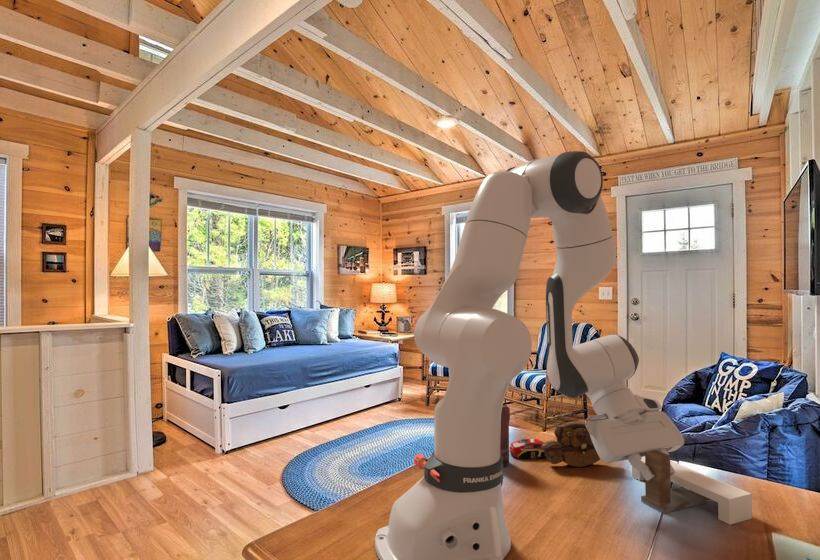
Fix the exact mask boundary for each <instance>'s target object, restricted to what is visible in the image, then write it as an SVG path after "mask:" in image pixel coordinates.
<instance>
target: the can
mask: <svg viewBox="0 0 820 560" xmlns="http://www.w3.org/2000/svg"><path fill="white" fill-rule="evenodd" d="M510 419H511V411H510V407H509V406H508V404H507V403H503V406H502V412H501V435H500V454H501V455H502V457H503V468H505V467H507V466H508V465H509V463H510Z"/></svg>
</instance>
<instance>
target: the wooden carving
mask: <svg viewBox="0 0 820 560" xmlns="http://www.w3.org/2000/svg"><path fill="white" fill-rule="evenodd" d="M553 433H554V436H555V437H556V440H550V441H546V442H544V443H545V444H543V445H542V447H541V448H542V450H544V453H545V455H546V458H545V459H546V461H547V463H549V464H552V465H558V464H560V463H563V464H564V463H565V464H567V465H568V466H572V467H576V468H577V467H581V468H582V467H587V466H590V465H591V466H592V465H593V464H596V463H597V462H599V461H600V460H601V459H600V457H599V455H598V454H597V451H596V449H595V447H594V445H593V442H592V440H591V437H590V433H589V432H588V430H587V428H586V426H585V422H584V423H583V422H580V421H568V422H565V423H564V424H562V425H559V424H557V425H556V426H555V428H554V432H553Z"/></svg>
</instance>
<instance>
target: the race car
mask: <svg viewBox="0 0 820 560" xmlns="http://www.w3.org/2000/svg"><path fill="white" fill-rule="evenodd" d="M545 443H546V442H544V441H542V440H540V439H538V438H524V439H523V438H522V439H519V440H516V441H513V442H511V443H510V444H509V454H511V456H513V457H515V458H517V459H522V460H529V459H547V458H546V455H545V453H544V450H542V448H541V447H542V445H543V444H545Z"/></svg>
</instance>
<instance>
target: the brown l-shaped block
mask: <svg viewBox="0 0 820 560" xmlns="http://www.w3.org/2000/svg"><path fill="white" fill-rule="evenodd" d="M670 461H671V455H670V454H669V455H667V454H665V453H662V452H660V451H657V450H654V451H649V452H645V465H646V466H648V467H649V468H650V467H652V468H653V470H654V472H655V473H656V478H654V479H652V480H648V481H647V480H644V481H645V484H644V485H645V486H644V487H645V490H644V491H645V493H644V494H645V495H641V496H640V502H642V503H643V504H644V505H645V504H646V505H647V506H649V507H651V508H653V509H654V510H657V511H658V512H661V513H662V514H667V513H671V512H675V511H680V510H684V509H686V508H688V509H689V508H691V507H695V506H699V505H703V504H706V503H707V500H706V497H704V496H701V495H699V494H697V493H695V492H693V491H690V490H689V489H687V488H685V487H683V486H680V487H675V488H671V481H670Z"/></svg>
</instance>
